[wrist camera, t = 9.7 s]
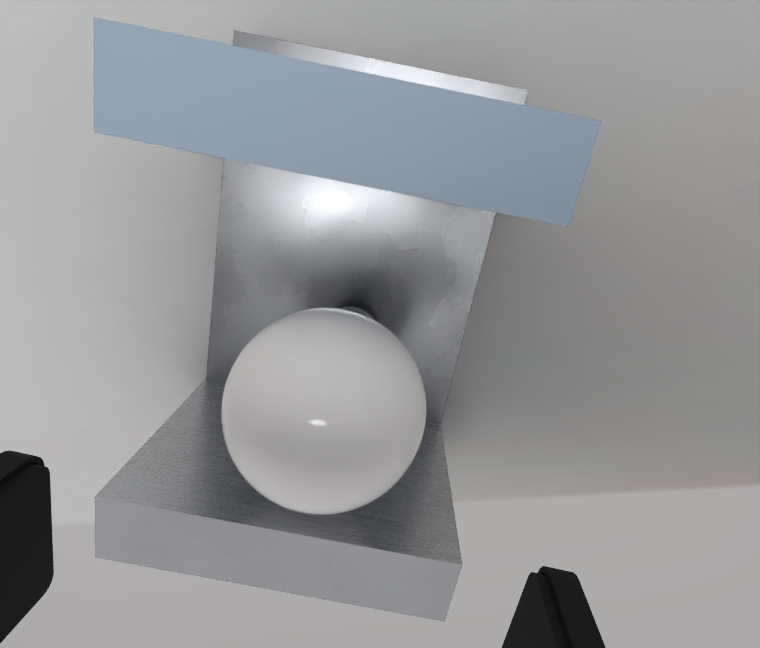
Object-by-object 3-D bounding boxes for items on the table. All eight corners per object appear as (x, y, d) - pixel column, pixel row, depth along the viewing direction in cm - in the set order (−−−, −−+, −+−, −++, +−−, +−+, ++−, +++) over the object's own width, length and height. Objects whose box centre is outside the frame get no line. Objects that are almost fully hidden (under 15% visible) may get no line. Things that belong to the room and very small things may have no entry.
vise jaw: (515, 142, 19) (601, 120, 11) (499, 203, 20) (568, 227, 12) (227, 84, 19) (93, 17, 11) (222, 148, 20) (94, 132, 12)
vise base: (516, 97, 21) (631, 24, 10) (427, 443, 26) (444, 621, 16) (249, 43, 21) (93, -88, 10) (217, 403, 26) (95, 557, 16)
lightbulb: (276, 375, 23) (174, 538, 13) (296, 250, 21) (195, 323, 11) (401, 402, 23) (400, 585, 13) (432, 280, 22) (461, 381, 11)
